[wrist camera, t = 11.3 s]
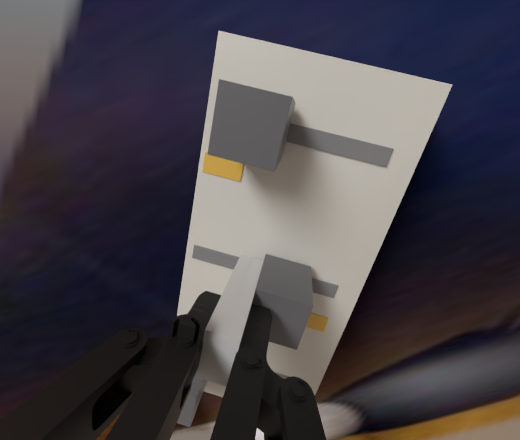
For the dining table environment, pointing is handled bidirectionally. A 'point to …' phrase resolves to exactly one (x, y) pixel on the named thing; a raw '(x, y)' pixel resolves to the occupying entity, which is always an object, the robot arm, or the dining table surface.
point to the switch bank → (309, 185)
